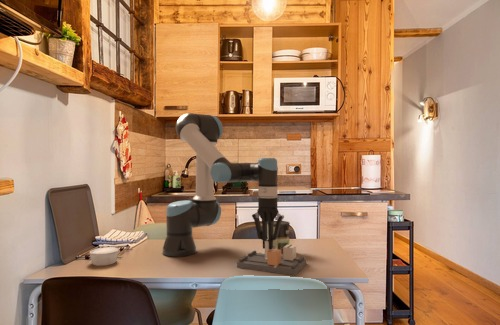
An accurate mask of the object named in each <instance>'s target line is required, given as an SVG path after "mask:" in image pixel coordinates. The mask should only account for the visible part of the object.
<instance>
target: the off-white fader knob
mask: <svg viewBox="0 0 500 325" xmlns="http://www.w3.org/2000/svg"><path fill="white" fill-rule="evenodd" d="M295 258H297V245H296V244H295V245H294V244H289V245H286V246H284V247H283V260H291V261H293V260H294V259H295Z"/></svg>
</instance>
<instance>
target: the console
mask: <svg viewBox="0 0 500 325" xmlns="http://www.w3.org/2000/svg"><path fill="white" fill-rule="evenodd" d="M306 264H307V258H305V256H304V255H302V256H300V257H296V258H295V259H294V260H293V261H291V260H283V256H281V263H280V264H279V265H278V266H274V265H267V258H265V253H261V252H257V250H253V251H251V252H249V253H248V254H247V255H244V256H242V257H241V258H239V259H238V261H237V262H236V268H238V269H239V268H240V269H246V270H254V271H262V272H269V273H276V274H283V275H290V276H296V275H297V274H298V273H299V272H300V271H301V270H302V269H303V268H304V267H305V266H306Z"/></svg>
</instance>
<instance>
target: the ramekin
mask: <svg viewBox="0 0 500 325" xmlns="http://www.w3.org/2000/svg"><path fill="white" fill-rule="evenodd" d="M119 251H120V250H119V248H118V247H113V246H111V247H110V246H109V247H108V246H107V247H99V248H95V249H92V250H89V256H90V261H91V265H93V266H96V267H103V266H109V265H113V264H115V263H116V262H117V261H118V257H119V256H118V255H119Z"/></svg>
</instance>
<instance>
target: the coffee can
mask: <svg viewBox="0 0 500 325" xmlns="http://www.w3.org/2000/svg"><path fill="white" fill-rule="evenodd" d="M276 222H277V220H274V223H273V235H274V231H275V226H276ZM267 225H268V222H267ZM286 245H290V222H289V221H288V220H287V221H286V220H282V222H281V226H280V230H279V234H278V238H277V239H276V240H273V249H280V250H281V256H283V247H284V246H286Z"/></svg>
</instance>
